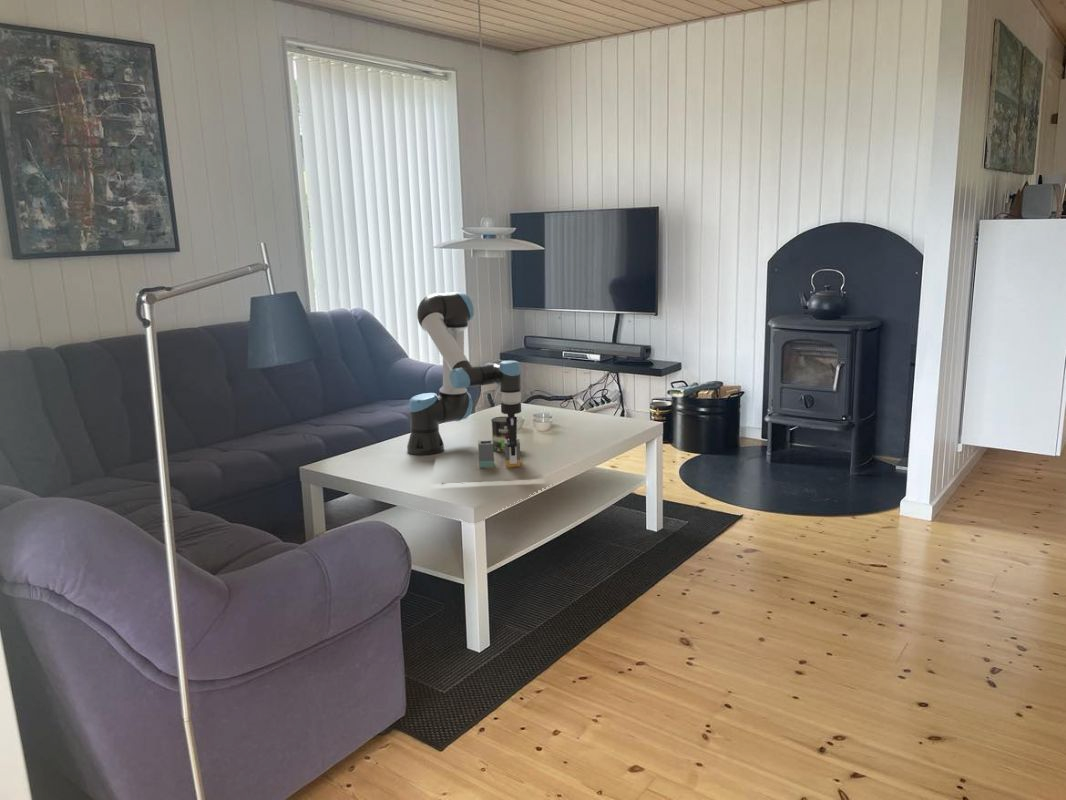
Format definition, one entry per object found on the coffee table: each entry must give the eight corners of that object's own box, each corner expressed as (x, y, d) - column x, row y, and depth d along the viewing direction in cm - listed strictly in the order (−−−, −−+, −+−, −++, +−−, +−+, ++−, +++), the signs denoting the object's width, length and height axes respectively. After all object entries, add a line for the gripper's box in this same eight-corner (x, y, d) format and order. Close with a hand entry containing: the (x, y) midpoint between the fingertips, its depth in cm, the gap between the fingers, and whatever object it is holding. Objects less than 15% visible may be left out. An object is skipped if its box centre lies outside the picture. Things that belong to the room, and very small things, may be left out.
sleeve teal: (479, 467, 306) (478, 444, 304) (479, 463, 311) (478, 440, 309) (494, 467, 306) (493, 443, 304) (493, 463, 311) (493, 440, 310)
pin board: (476, 473, 304) (475, 451, 302) (476, 466, 313) (475, 444, 312) (524, 471, 305) (523, 449, 303) (523, 464, 314) (522, 442, 313)
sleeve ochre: (505, 462, 312) (504, 439, 310) (519, 462, 312) (519, 439, 310) (505, 466, 306) (504, 443, 304) (520, 466, 306) (519, 442, 305)
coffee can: (520, 454, 329) (519, 420, 326) (495, 457, 326) (494, 422, 323) (514, 448, 338) (513, 415, 336) (490, 450, 336) (488, 417, 333)
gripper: (500, 396, 316) (502, 451, 320) (501, 409, 293) (503, 468, 297) (519, 396, 316) (521, 451, 320) (522, 408, 293) (524, 467, 297)
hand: (512, 459), depth 309 cm, fingers open, 11 cm apart
